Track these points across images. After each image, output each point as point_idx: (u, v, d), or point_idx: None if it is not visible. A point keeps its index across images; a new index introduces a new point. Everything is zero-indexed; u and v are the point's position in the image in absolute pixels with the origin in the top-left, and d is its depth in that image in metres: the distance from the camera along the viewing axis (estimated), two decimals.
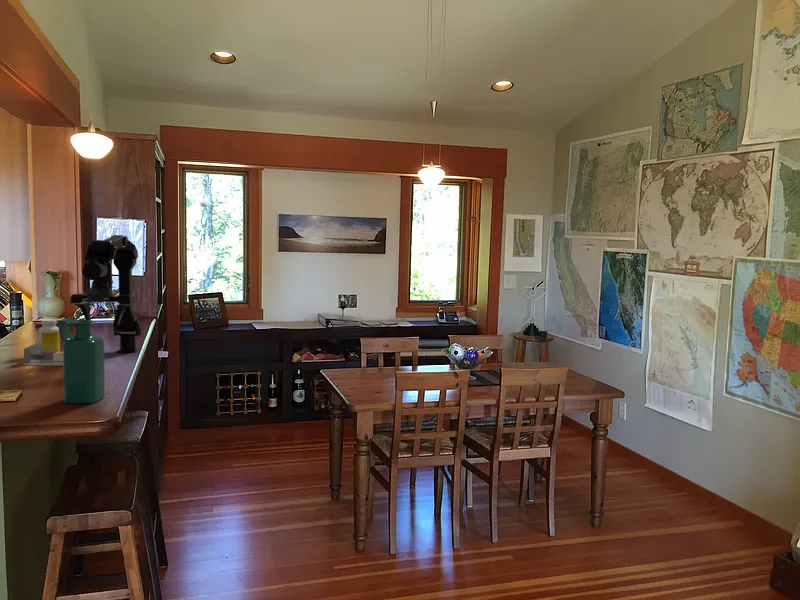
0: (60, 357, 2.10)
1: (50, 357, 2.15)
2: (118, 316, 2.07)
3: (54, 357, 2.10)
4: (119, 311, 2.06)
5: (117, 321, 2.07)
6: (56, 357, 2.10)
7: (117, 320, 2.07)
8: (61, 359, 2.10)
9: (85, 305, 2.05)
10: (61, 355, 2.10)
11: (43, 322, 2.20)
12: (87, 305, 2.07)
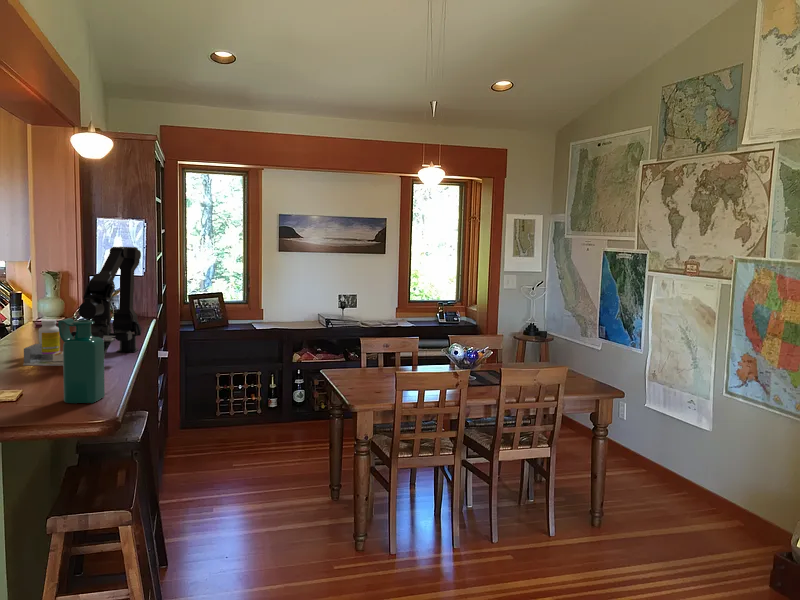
0: (59, 357, 2.10)
1: (50, 357, 2.15)
2: None
3: (53, 357, 2.10)
4: (104, 347, 2.13)
5: None
6: (55, 357, 2.10)
7: None
8: (60, 359, 2.10)
9: None
10: (60, 355, 2.10)
11: (43, 322, 2.20)
12: None
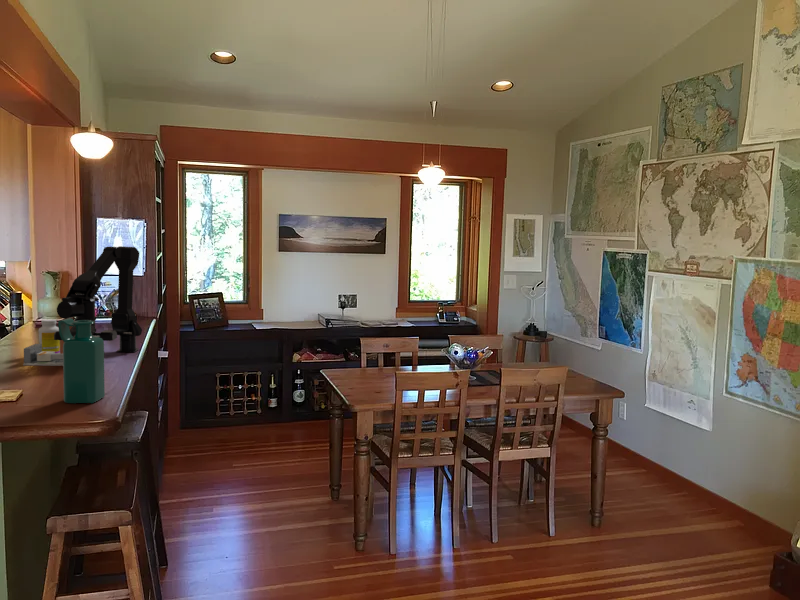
0: (44, 357, 2.10)
1: None
2: None
3: (38, 357, 2.09)
4: None
5: None
6: (40, 357, 2.09)
7: None
8: (45, 359, 2.10)
9: None
10: (45, 355, 2.10)
11: (43, 322, 2.20)
12: None
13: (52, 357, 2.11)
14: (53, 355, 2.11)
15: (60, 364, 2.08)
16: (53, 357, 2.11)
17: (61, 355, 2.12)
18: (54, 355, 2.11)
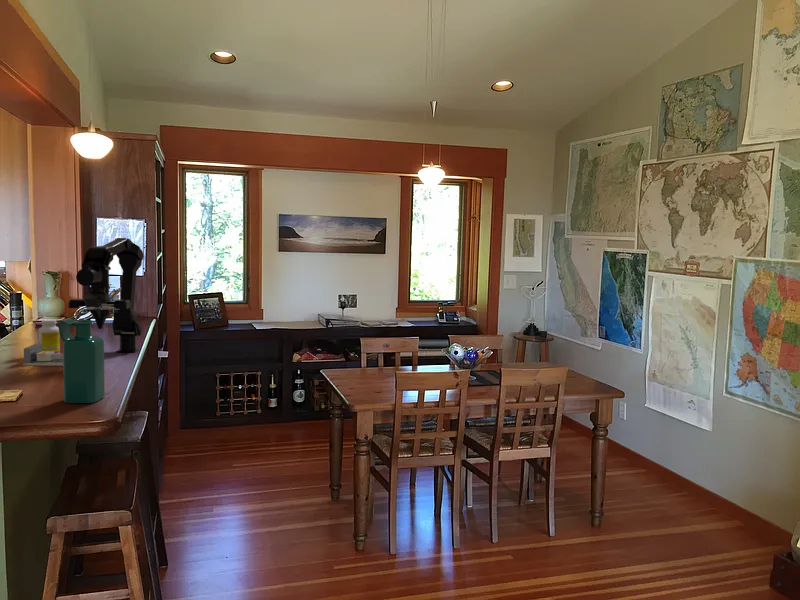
0: (43, 357, 2.10)
1: None
2: (101, 320, 2.12)
3: (37, 357, 2.09)
4: (102, 316, 2.12)
5: (100, 325, 2.13)
6: (39, 357, 2.09)
7: (100, 324, 2.13)
8: (44, 359, 2.10)
9: (96, 310, 2.11)
10: (44, 355, 2.10)
11: (43, 322, 2.20)
12: (98, 310, 2.13)
13: (52, 357, 2.11)
14: (53, 355, 2.11)
15: (60, 364, 2.08)
16: (53, 357, 2.11)
17: (61, 355, 2.12)
18: (54, 355, 2.11)
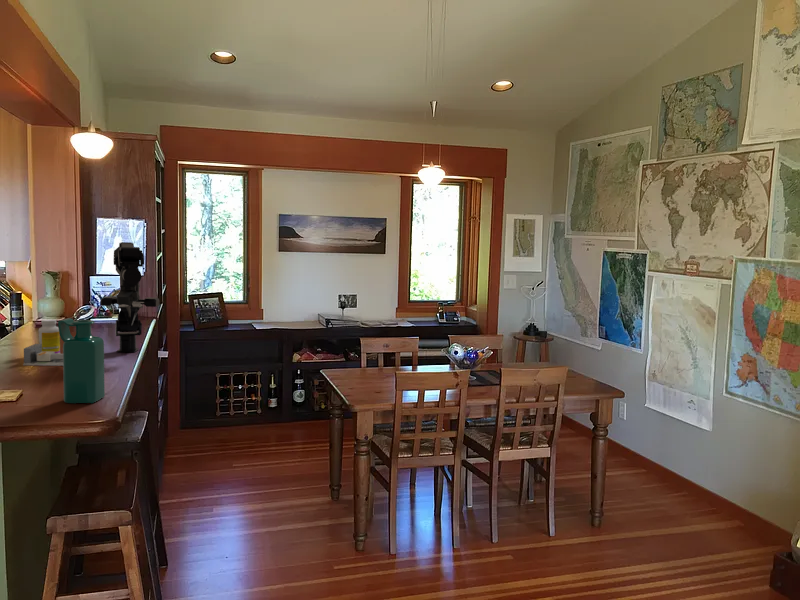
0: (43, 357, 2.10)
1: None
2: (132, 317, 2.21)
3: (37, 357, 2.09)
4: (133, 313, 2.20)
5: (131, 322, 2.21)
6: (39, 357, 2.09)
7: (131, 321, 2.21)
8: (44, 359, 2.10)
9: (127, 308, 2.20)
10: (44, 355, 2.10)
11: (43, 322, 2.20)
12: (128, 308, 2.22)
13: (52, 357, 2.11)
14: (53, 355, 2.11)
15: (60, 364, 2.08)
16: (53, 357, 2.11)
17: (61, 355, 2.12)
18: (54, 355, 2.11)
